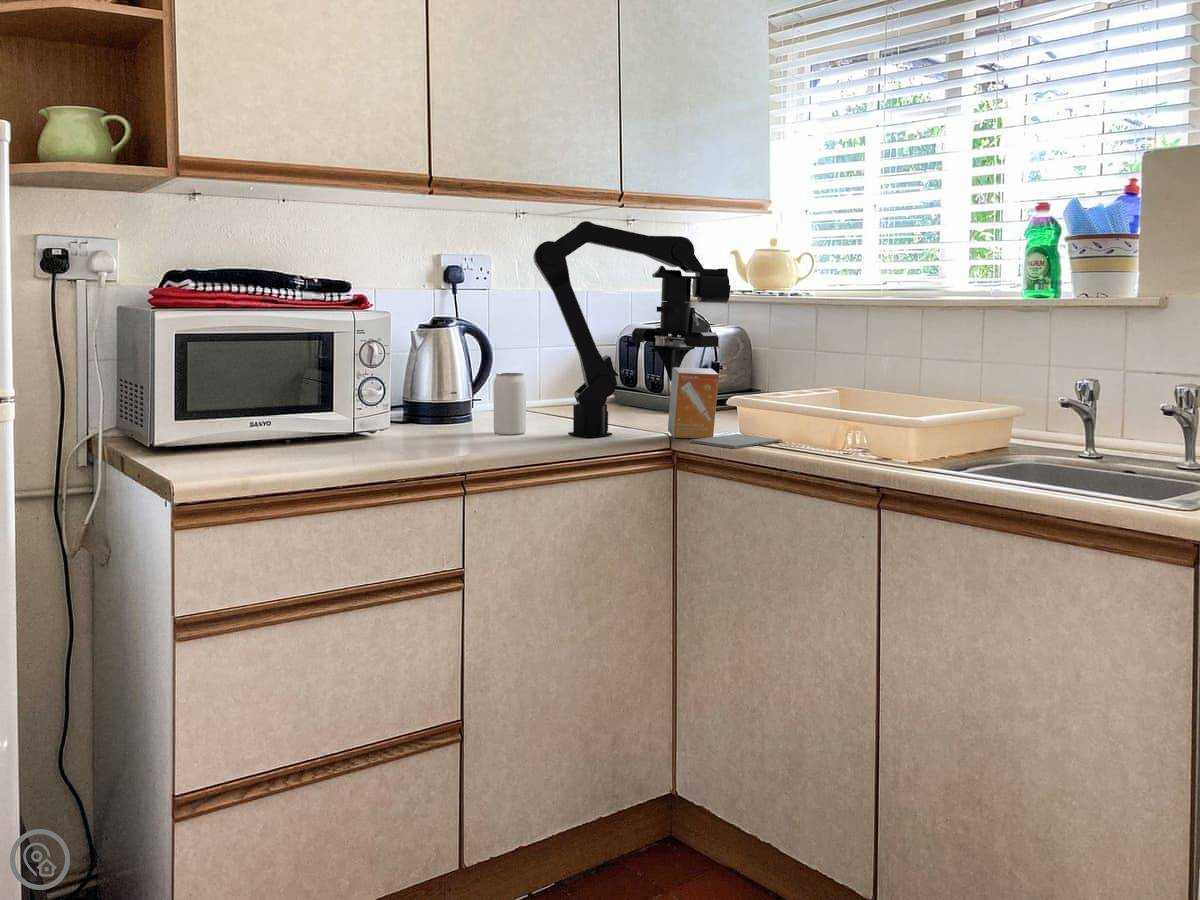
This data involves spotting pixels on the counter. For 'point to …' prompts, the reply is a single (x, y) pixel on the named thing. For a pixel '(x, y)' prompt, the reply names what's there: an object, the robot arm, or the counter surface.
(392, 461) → the counter surface
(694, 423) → the small box
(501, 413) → the can
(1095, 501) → the counter surface
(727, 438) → the mat
